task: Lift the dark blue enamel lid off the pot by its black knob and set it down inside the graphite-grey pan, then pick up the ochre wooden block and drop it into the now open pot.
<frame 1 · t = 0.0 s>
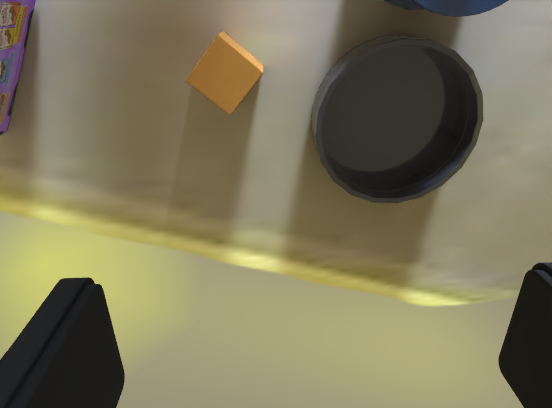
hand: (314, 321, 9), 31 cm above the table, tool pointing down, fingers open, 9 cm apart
block: (228, 68, 36), on the table
pan: (386, 117, 39), on the table
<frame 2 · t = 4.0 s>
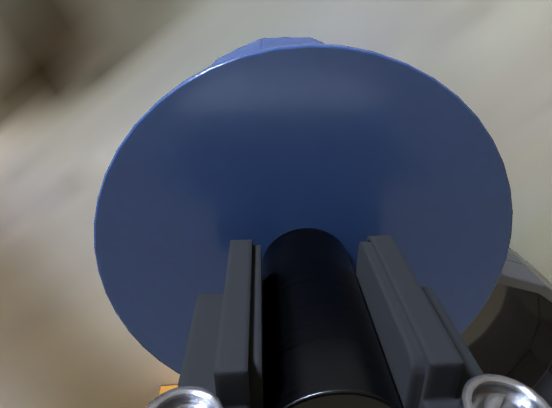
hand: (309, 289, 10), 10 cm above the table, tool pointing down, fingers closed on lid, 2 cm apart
pan: (422, 332, 25), on the table
pot: (285, 153, 19), on the table
lid: (303, 255, 11), point 9 cm above the table, touching gripper, pot
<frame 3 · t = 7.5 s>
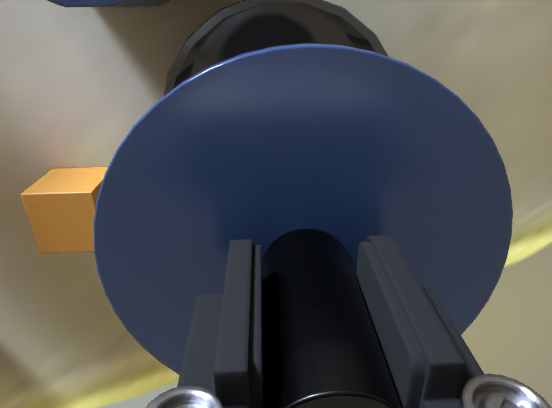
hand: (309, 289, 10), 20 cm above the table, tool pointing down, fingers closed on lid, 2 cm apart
block: (90, 194, 30), on the table
pan: (279, 112, 28), on the table
lid: (303, 255, 11), point 19 cm above the table, touching gripper
when the fingers open (3 cm above the table, at t = 11.3 s): lid stays where it is, resting on pan.
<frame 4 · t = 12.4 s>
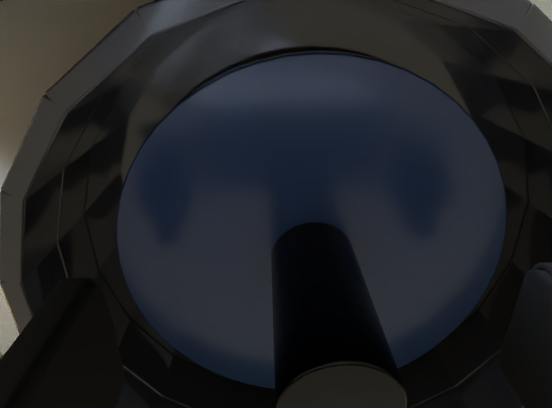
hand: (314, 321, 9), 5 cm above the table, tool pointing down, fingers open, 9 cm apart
pan: (306, 229, 13), on the table
lid: (310, 248, 12), point 1 cm above the table, touching pan
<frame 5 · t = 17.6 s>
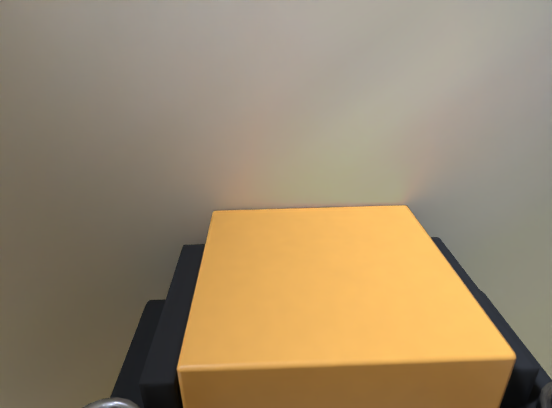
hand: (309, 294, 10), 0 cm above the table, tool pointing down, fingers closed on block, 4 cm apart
block: (308, 285, 10), on the table, touching gripper
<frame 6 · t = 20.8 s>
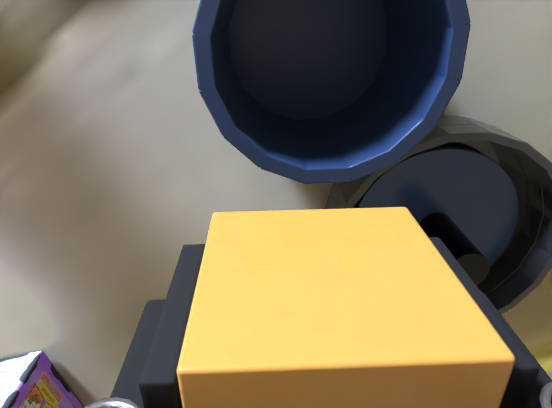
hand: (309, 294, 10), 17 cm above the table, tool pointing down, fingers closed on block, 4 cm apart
candy box: (53, 405, 36), on the table
block: (308, 286, 10), point 17 cm above the table, touching gripper
pan: (425, 216, 29), on the table
pot: (307, 40, 23), on the table
lid: (431, 224, 28), point 1 cm above the table, touching pan
when the fingers open (7 cm above the table, at t = 24.6 s): block stays where it is, resting on pot.
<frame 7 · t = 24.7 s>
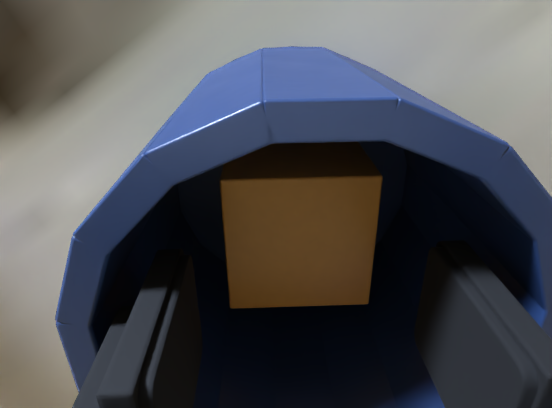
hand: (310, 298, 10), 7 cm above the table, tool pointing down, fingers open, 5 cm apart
block: (290, 187, 16), resting on pot
pot: (291, 183, 16), on the table
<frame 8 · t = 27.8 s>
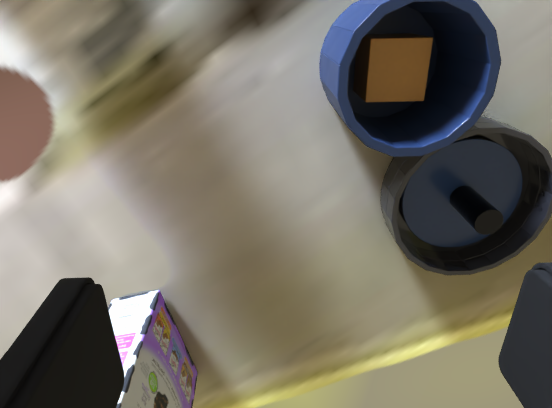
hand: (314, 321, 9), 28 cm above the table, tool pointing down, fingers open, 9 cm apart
candy box: (158, 337, 47), on the table
block: (381, 63, 33), resting on pot
pan: (454, 189, 39), on the table
pot: (381, 62, 34), on the table
lid: (459, 194, 38), point 1 cm above the table, touching pan
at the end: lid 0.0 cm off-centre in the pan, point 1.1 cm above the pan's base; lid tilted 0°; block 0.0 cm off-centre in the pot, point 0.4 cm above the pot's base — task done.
